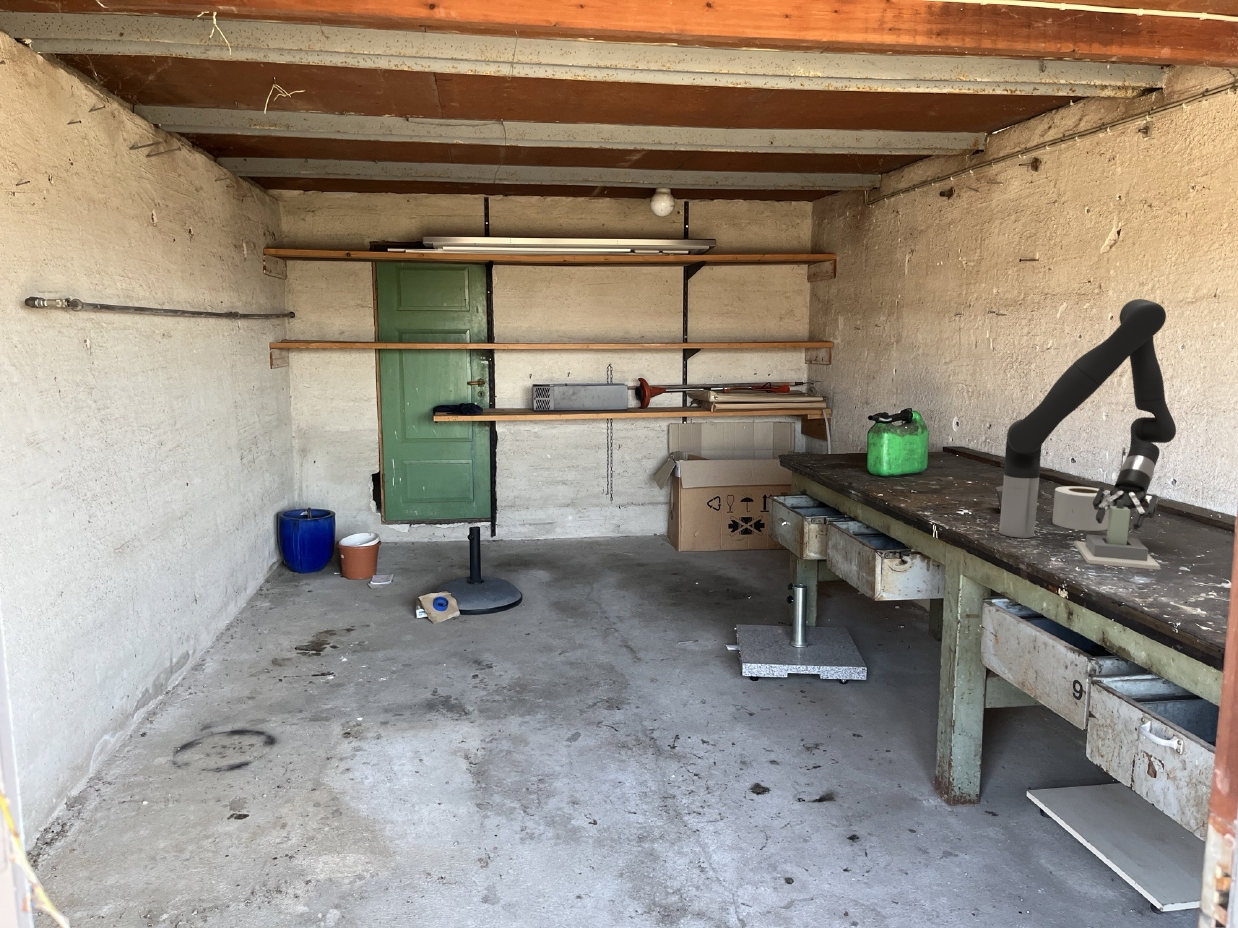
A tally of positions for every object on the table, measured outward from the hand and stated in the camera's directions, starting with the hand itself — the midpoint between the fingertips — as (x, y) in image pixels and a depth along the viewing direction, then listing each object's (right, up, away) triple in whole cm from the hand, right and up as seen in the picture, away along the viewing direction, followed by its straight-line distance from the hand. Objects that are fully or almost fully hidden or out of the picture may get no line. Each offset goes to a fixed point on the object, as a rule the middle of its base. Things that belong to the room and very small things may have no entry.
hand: (1116, 524), depth 224 cm
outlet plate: (+1, -9, +2) cm, 9 cm away
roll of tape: (+11, -3, +38) cm, 40 cm away
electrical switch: (-4, 0, +55) cm, 55 cm away
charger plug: (+1, -8, +2) cm, 8 cm away
